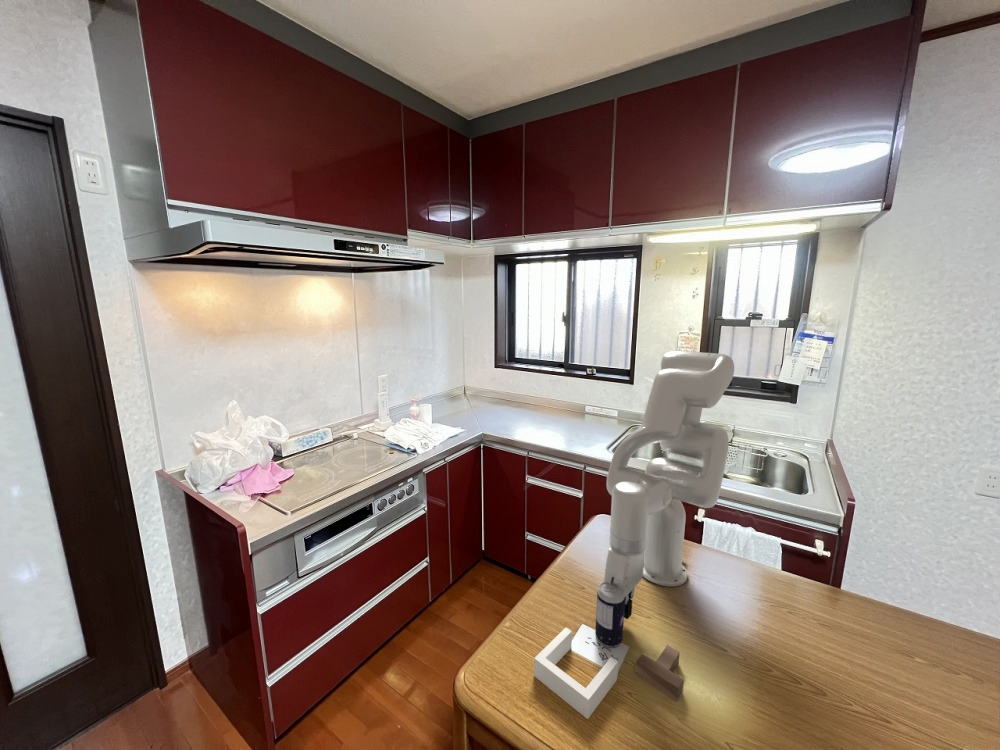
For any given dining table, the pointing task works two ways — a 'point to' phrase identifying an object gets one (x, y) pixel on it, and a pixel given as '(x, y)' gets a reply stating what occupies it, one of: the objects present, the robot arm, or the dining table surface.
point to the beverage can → (609, 615)
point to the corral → (567, 686)
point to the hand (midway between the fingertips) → (623, 614)
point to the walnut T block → (662, 672)
